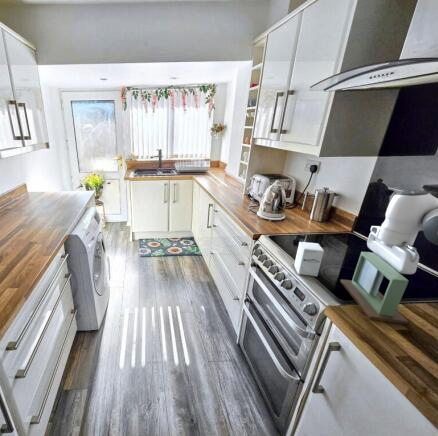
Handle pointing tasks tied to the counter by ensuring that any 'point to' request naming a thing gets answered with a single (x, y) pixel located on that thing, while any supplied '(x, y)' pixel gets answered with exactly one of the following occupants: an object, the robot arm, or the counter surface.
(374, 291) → the sliding pane
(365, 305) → the window frame
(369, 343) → the counter surface
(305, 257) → the white packaging box
